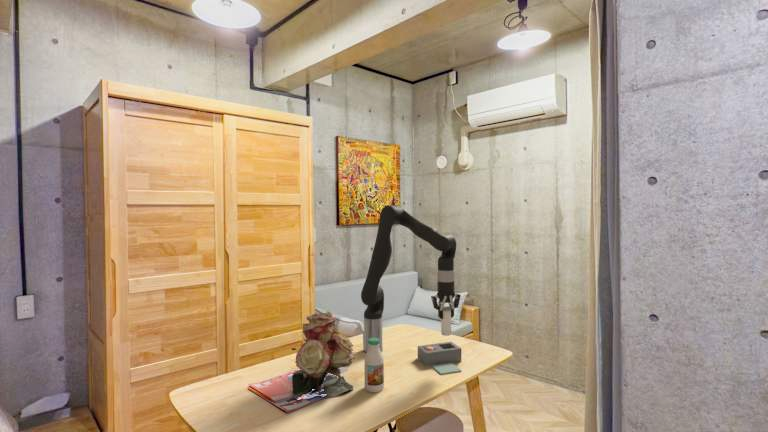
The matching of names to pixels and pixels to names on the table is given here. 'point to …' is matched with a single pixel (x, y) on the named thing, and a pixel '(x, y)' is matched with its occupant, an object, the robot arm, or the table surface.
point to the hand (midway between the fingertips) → (446, 317)
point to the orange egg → (429, 348)
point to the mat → (446, 368)
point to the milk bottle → (374, 367)
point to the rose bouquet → (322, 358)
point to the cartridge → (446, 321)
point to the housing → (439, 354)
